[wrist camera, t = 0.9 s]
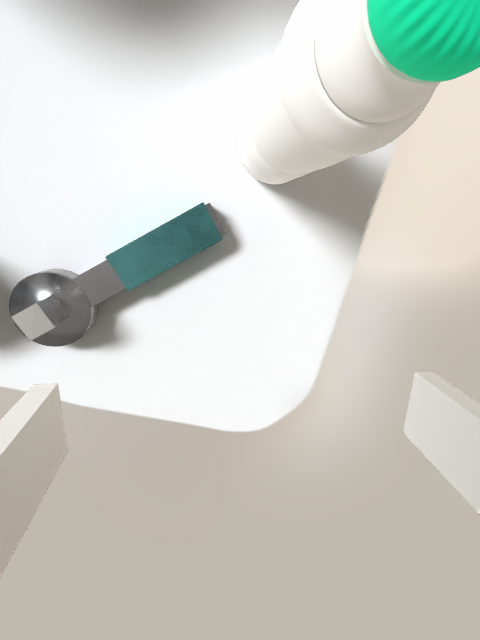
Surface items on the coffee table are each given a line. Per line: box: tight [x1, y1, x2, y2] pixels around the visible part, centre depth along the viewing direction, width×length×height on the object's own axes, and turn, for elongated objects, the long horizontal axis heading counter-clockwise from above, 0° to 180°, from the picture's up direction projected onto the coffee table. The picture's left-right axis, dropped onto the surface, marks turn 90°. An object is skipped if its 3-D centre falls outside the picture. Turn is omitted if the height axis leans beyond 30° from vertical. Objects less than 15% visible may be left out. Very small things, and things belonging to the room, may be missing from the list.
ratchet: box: [9, 203, 226, 346], centre depth 30 cm, size 21×7×6 cm, turn 117°
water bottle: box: [237, 0, 480, 184], centre depth 20 cm, size 7×7×25 cm
